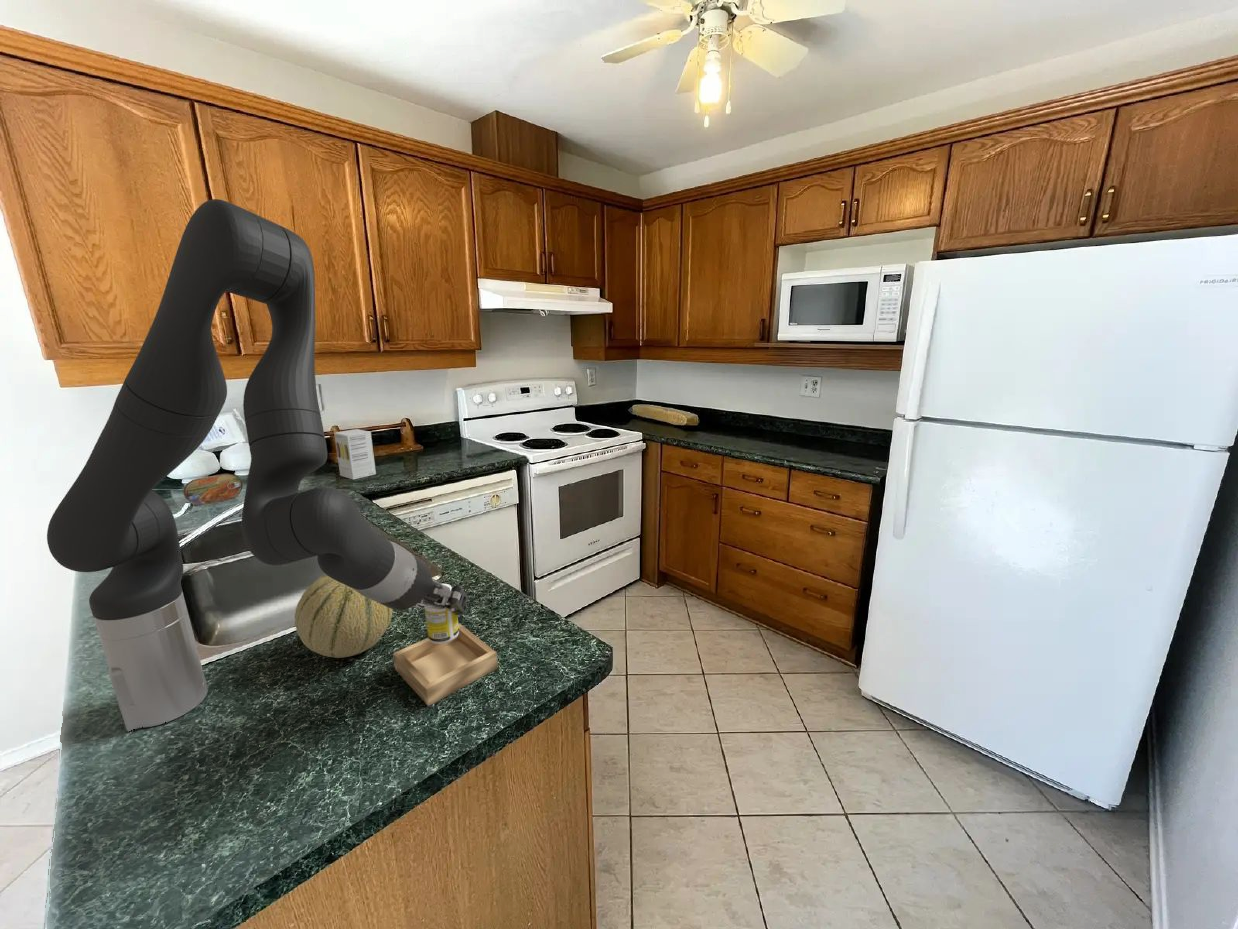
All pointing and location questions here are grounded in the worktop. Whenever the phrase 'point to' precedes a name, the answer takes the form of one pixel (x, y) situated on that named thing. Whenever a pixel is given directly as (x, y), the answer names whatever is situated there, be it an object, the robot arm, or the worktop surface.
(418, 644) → the box
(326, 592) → the cantaloupe
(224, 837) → the worktop surface
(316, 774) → the worktop surface
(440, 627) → the supplement bottle
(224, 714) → the worktop surface
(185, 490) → the tin
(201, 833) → the worktop surface
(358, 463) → the supplement box
